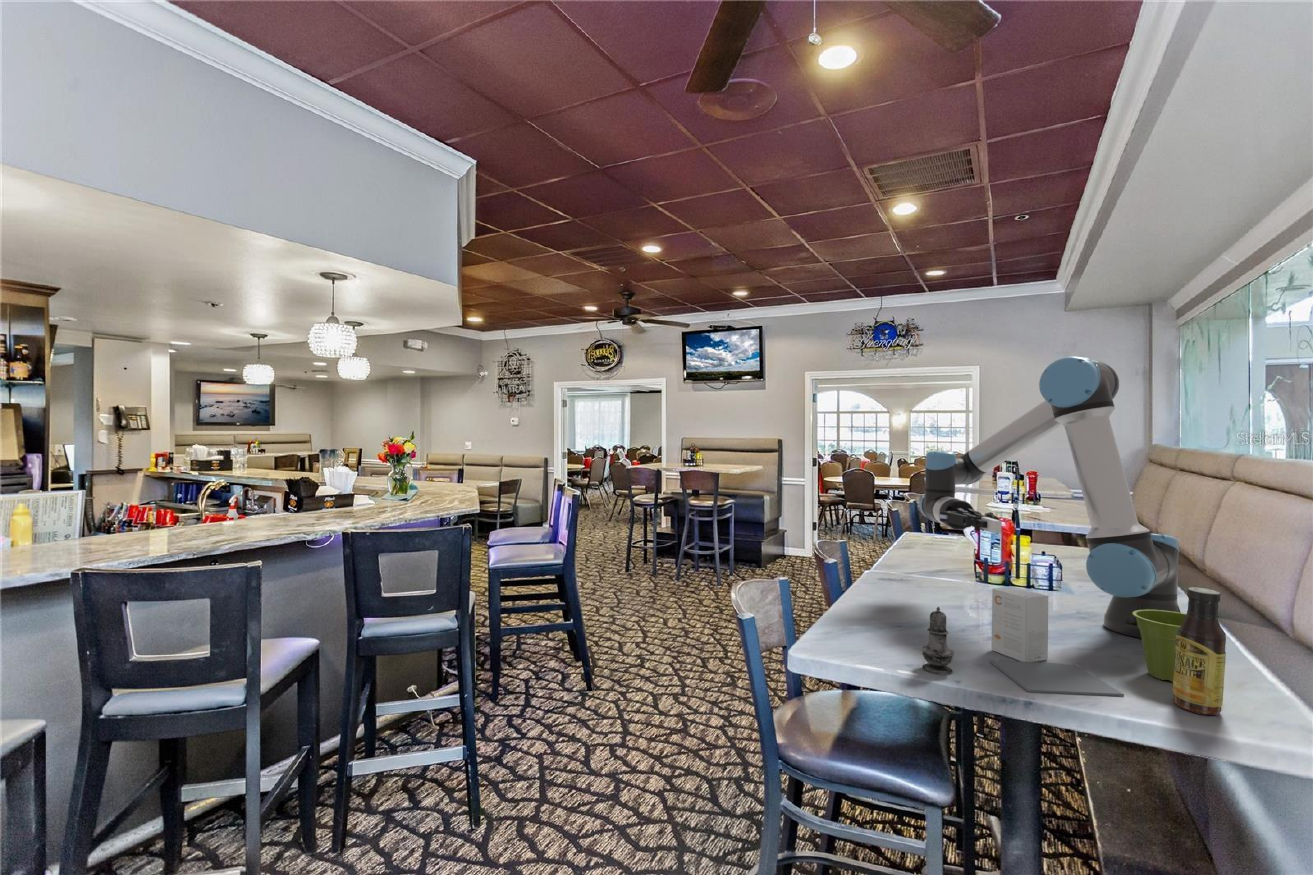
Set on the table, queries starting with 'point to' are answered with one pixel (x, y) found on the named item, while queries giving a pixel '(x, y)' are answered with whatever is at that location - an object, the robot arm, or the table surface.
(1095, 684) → the rubber mat
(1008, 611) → the small box
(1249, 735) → the table surface
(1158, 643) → the plant pot
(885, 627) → the table surface
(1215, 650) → the sauce bottle
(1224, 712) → the table surface
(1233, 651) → the table surface
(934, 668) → the salt shaker
